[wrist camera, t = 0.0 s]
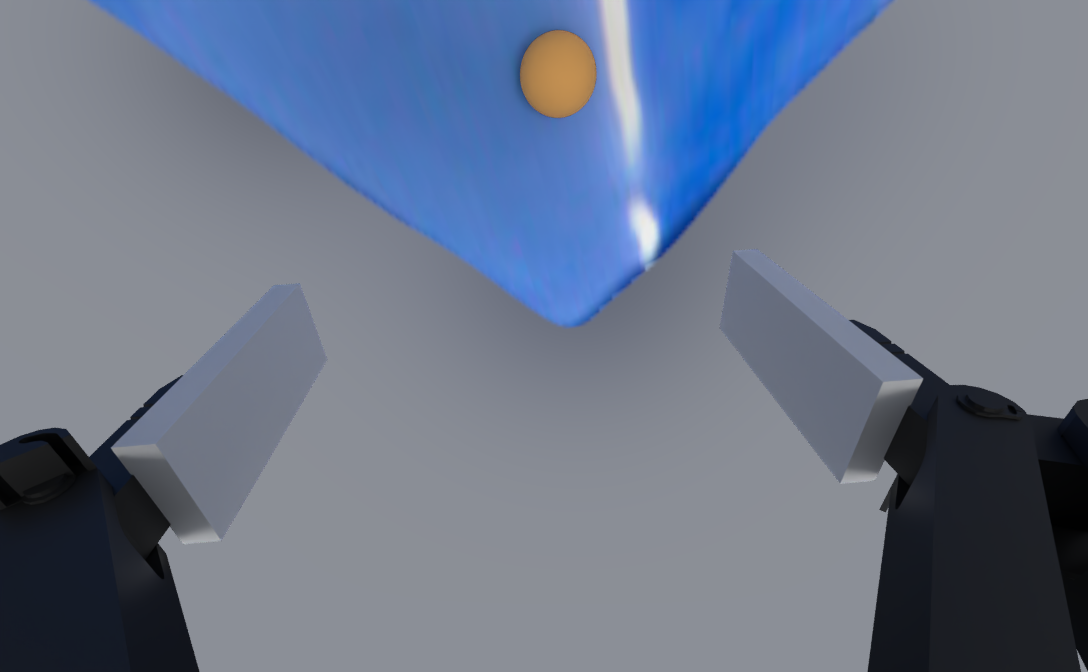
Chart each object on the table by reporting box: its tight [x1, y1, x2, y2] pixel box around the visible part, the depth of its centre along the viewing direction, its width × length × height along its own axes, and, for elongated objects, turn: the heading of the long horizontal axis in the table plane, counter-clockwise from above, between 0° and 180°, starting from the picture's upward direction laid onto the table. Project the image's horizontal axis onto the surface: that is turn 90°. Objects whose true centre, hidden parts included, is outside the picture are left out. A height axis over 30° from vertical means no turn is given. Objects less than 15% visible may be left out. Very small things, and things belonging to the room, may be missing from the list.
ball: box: [520, 30, 596, 118], centre depth 33 cm, size 6×6×6 cm
